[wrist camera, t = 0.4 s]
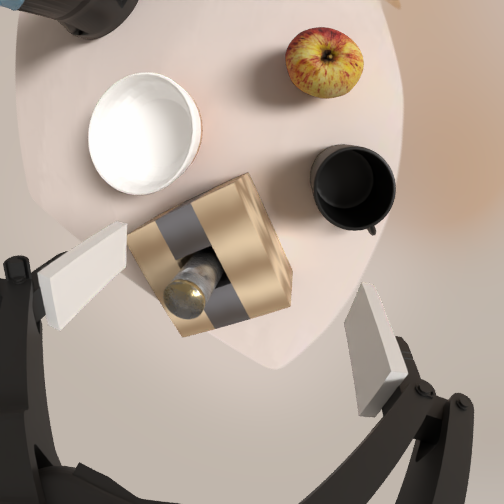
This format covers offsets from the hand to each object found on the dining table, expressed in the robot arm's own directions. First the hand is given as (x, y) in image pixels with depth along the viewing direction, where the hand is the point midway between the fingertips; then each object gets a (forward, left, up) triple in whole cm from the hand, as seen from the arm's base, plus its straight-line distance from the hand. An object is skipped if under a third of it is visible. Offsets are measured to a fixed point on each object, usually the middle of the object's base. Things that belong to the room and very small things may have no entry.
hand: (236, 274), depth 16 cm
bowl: (-14, -12, -28) cm, 33 cm away
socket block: (+5, -11, -27) cm, 30 cm away
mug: (+4, +9, -28) cm, 29 cm away
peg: (+5, -11, -19) cm, 23 cm away
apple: (-12, +12, -28) cm, 33 cm away
